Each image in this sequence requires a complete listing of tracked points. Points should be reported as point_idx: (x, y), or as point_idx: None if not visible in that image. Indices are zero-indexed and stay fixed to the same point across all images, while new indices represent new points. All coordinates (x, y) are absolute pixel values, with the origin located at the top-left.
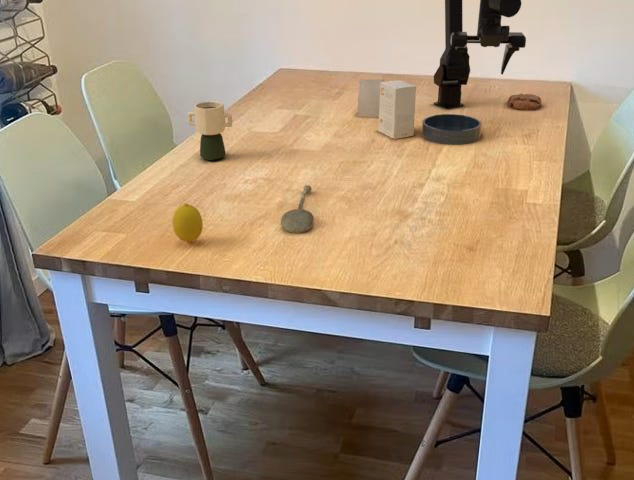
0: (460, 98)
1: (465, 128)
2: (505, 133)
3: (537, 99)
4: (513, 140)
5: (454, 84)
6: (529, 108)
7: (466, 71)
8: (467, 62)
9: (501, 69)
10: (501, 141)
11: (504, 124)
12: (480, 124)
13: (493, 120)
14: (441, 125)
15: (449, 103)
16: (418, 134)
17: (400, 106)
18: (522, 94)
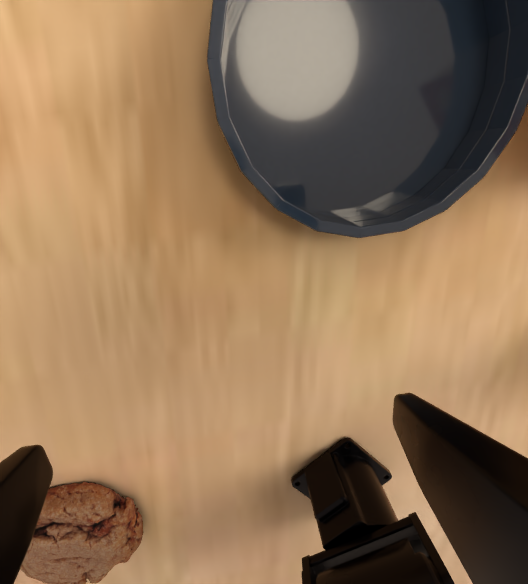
0: (311, 490)
1: (286, 180)
2: (96, 167)
3: None
4: (33, 39)
5: (355, 542)
6: (53, 490)
7: (420, 405)
8: (501, 479)
9: (27, 508)
10: (94, 7)
11: (121, 304)
12: (213, 41)
13: (173, 348)
14: (392, 206)
15: (345, 463)
16: None
17: None
18: (89, 579)
